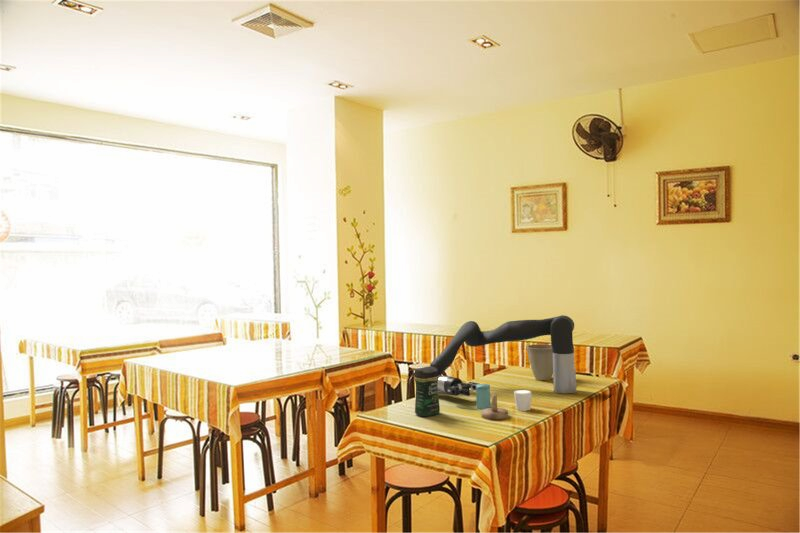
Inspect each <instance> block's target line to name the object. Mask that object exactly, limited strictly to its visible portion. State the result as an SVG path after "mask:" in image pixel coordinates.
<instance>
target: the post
mask: <svg viewBox="0 0 800 533" xmlns="http://www.w3.org/2000/svg"><path fill="white" fill-rule="evenodd" d="M481 418H482V419H484V420H488V421H502V420H507V419H508V418H509V411H508V409H505V408H502V407H498V396H497V394H493V395H491V408H486V409H481Z"/></svg>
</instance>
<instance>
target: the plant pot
mask: <svg viewBox="0 0 800 533" xmlns="http://www.w3.org/2000/svg"><path fill="white" fill-rule="evenodd" d="M526 352H527V356H528V360H529V364H530V369H531V372H532V374H533V377H534V379H535V380H536V381H542V380H546V381H550V380H551V379H552V377H553V355H552V346H551V344H549V343H548V344H547V343H543V344H542V343H541V344H528V345H526Z"/></svg>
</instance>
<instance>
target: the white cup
mask: <svg viewBox="0 0 800 533" xmlns="http://www.w3.org/2000/svg"><path fill="white" fill-rule="evenodd" d="M513 394H514V402H515V403H514V404H515V410H516V409H517V410H516V411H519V410H520V411H519V412H527V410H529V411H531V409H532V408H531V406H532V391H531V390H528V389H517V390H514V391H513Z"/></svg>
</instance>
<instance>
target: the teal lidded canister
mask: <svg viewBox="0 0 800 533" xmlns="http://www.w3.org/2000/svg"><path fill="white" fill-rule="evenodd" d="M490 386H491V385H490V383H489V384H488V383H479V384H477V385H476V391H475V400H476V402H475V403H476V409H477V410H483V409H486V408H492V403H491V388H490Z"/></svg>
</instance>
